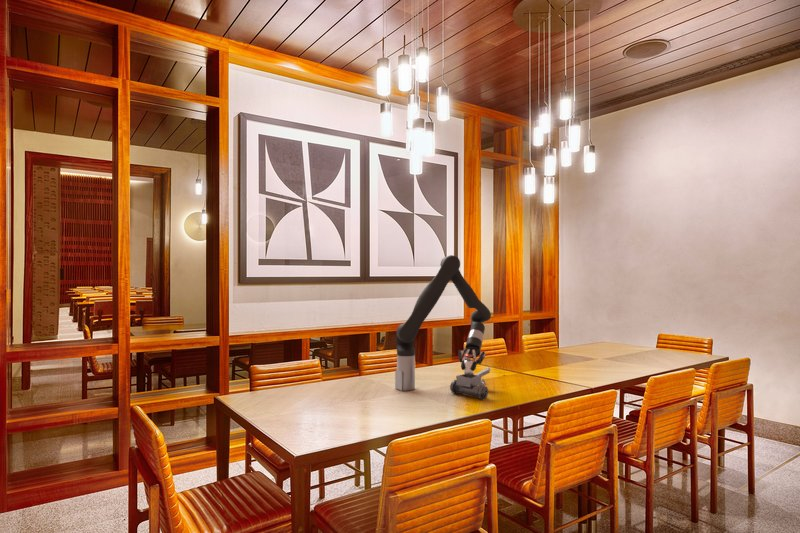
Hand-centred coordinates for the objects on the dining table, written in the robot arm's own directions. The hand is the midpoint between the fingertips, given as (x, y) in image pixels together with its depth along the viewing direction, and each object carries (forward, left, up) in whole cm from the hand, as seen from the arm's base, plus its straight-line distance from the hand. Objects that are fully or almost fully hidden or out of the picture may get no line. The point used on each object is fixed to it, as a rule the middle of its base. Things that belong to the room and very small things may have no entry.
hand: (467, 369), depth 236 cm
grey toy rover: (+2, +1, -13) cm, 13 cm away
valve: (+2, +1, -5) cm, 6 cm away
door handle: (+17, +15, -14) cm, 26 cm away
